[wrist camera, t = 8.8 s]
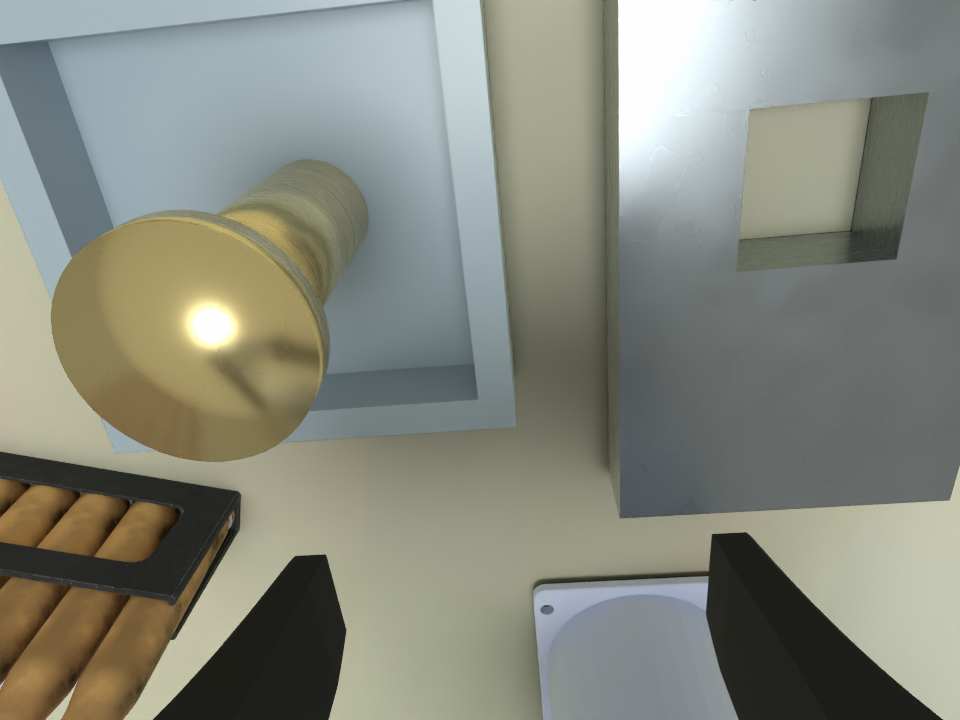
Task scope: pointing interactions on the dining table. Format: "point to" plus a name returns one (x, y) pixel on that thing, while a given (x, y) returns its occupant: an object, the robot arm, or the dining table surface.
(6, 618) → the ammunition clip
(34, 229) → the tray
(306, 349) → the gold flared cylinder
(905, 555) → the dining table surface
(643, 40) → the metal plate with hole
